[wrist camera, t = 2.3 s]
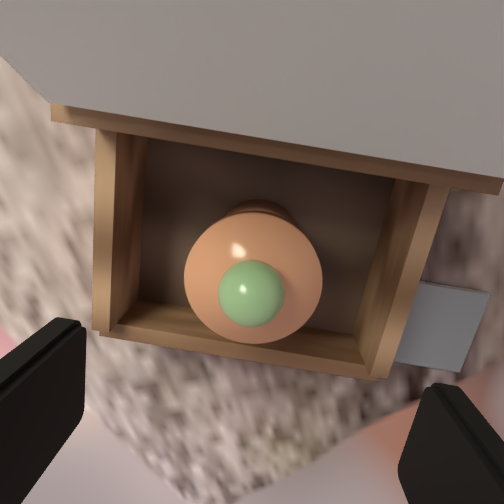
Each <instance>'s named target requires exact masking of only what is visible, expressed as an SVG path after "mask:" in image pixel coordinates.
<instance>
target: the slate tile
mask: <svg viewBox="0 0 504 504" xmlns="http://www.w3.org/2000/svg"><path fill="white" fill-rule="evenodd" d="M490 296H491V295H490V294H488V293H487V292H485V291H479V290H473V289H467V288H461V287H455V286H449V285H443V284H437V283H431V282H425V281H420V282H419V285H418V288H417V291H416V294H415V297H414V300H413V303H412V306H411V309H410V312H409V315H408V318H407V321H406V324H405V327H404V330H403V333H402V336H401V339H400V342H399V345H398V348H397V351H396V355H395V358H394V361H393V362H399V363H405V364H411V365H417V366H423V367H429V368H435V369H441V370H447V371H453V372H459V373H460V371H461V368H462V366H463V363H464V361H465V358H466V356H467V353H468V351H469V348H470V346H471V343H472V341H473V338H474V336H475V333H476V331H477V328H478V326H479V323H480V321H481V318H482V316H483V313H484V311H485V308H486V306H487V304H488V301H489V299H490Z"/></svg>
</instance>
